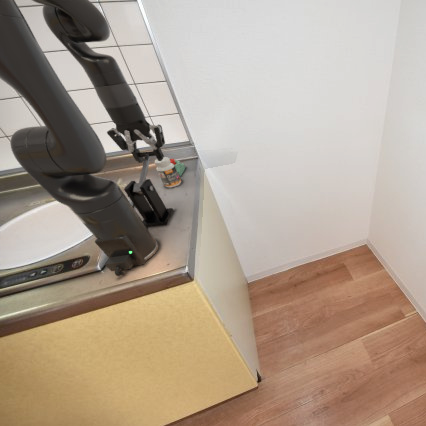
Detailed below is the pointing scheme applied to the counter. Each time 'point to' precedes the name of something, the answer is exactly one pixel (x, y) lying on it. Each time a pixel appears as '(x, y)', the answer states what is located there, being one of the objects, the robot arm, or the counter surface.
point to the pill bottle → (167, 172)
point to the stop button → (172, 161)
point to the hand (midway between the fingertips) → (151, 160)
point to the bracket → (150, 215)
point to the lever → (143, 171)
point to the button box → (179, 167)
